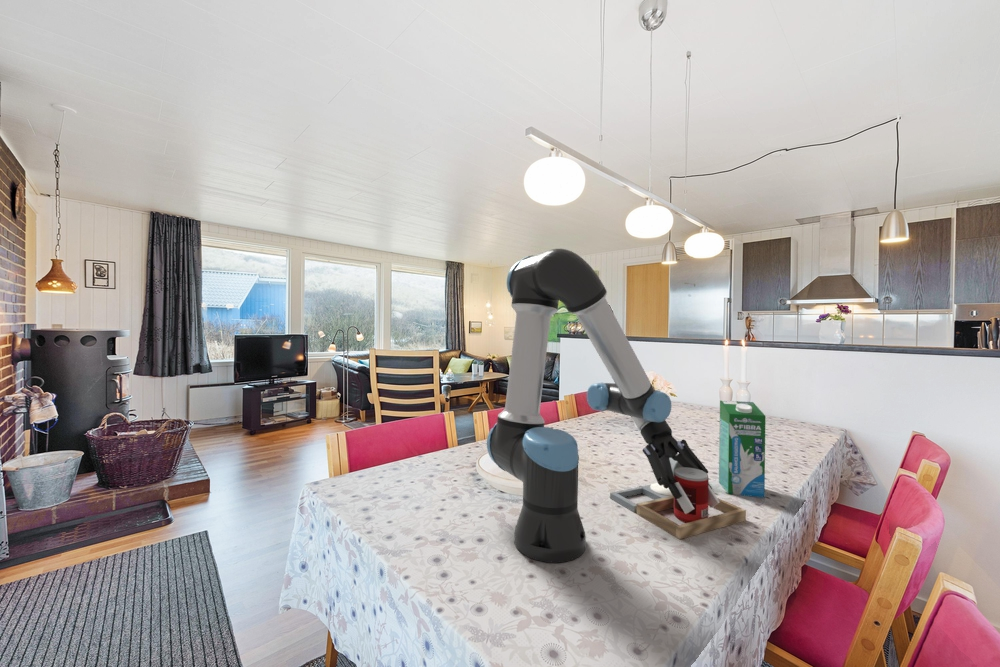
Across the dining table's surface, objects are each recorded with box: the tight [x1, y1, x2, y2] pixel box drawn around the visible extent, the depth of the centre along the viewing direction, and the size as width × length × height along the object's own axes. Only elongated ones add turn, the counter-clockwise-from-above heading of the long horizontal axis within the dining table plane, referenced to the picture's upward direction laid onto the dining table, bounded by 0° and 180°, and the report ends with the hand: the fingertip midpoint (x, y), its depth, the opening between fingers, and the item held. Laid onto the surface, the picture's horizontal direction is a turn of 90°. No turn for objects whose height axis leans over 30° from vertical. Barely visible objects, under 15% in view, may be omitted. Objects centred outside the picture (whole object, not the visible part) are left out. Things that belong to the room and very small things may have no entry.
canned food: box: [673, 467, 710, 523], centre depth 97 cm, size 8×8×11 cm
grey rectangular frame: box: [609, 482, 673, 513], centre depth 108 cm, size 22×9×2 cm, turn 114°
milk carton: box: [718, 400, 767, 498], centre depth 114 cm, size 9×9×25 cm
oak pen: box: [636, 496, 747, 540], centre depth 97 cm, size 22×13×2 cm, turn 114°
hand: (702, 508), depth 94 cm, fingers closed on canned food, 8 cm apart
